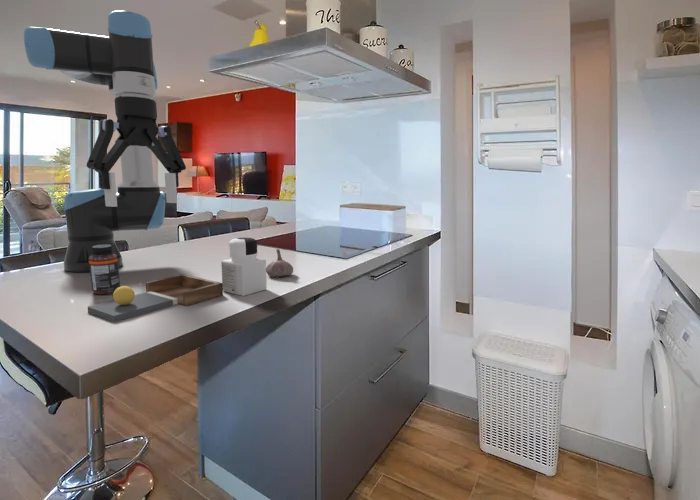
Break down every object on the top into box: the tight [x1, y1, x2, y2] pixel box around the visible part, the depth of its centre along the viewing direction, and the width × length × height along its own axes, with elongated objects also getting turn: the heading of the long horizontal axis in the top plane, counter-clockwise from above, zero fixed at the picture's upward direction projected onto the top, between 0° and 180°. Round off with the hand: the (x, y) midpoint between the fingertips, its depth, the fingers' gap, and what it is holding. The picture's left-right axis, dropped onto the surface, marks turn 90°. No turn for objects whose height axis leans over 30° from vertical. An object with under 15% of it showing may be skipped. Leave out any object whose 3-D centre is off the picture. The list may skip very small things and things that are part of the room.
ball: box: [112, 285, 136, 305], centre depth 88 cm, size 4×4×4 cm
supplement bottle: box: [89, 245, 121, 296], centre depth 101 cm, size 6×6×11 cm
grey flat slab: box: [87, 291, 179, 323], centre depth 90 cm, size 10×14×1 cm
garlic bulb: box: [266, 248, 294, 279], centre depth 119 cm, size 8×7×8 cm
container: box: [221, 237, 268, 297], centre depth 103 cm, size 8×8×13 cm
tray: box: [145, 273, 224, 307], centre depth 100 cm, size 15×10×3 cm, turn 57°
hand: (143, 204), depth 88 cm, fingers open, 13 cm apart
